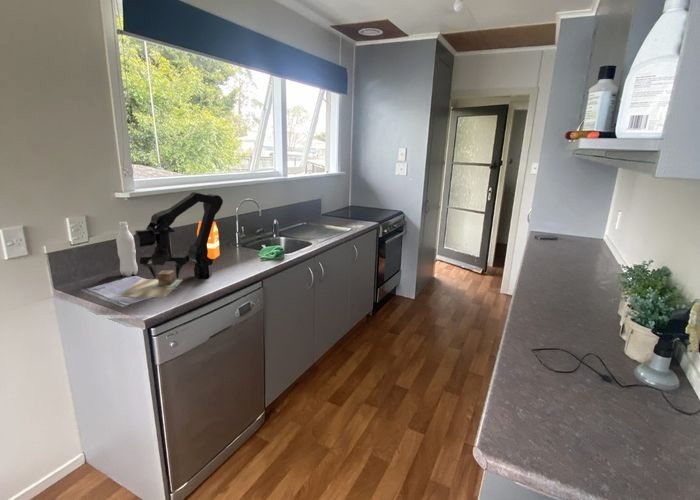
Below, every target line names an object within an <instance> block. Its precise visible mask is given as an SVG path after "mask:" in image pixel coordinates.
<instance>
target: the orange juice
mask: <svg viewBox="0 0 700 500" xmlns="http://www.w3.org/2000/svg"><path fill="white" fill-rule="evenodd" d="M201 223H202V220H199V222H198V227H197V231H196V235H197V236H196V238H197V237H198V233H199V230H200V226H201ZM219 238H220V237H219V229H218V226H217V223H216V221H213V225H212V228H211V232H210V235H209V239H208V242H207V248H208V256H207V257H209V258H210V259H211V260H216V258H218V257H219V256H220V240H219Z"/></svg>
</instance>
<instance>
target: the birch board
mask: <svg viewBox="0 0 700 500" xmlns="http://www.w3.org/2000/svg"><path fill="white" fill-rule="evenodd" d="M182 281H183V279H175V282H174V283H173V284H171V285H159V283H158V278H153V279H147V278H145V279H144V278H143V279H140V280H138V281H137V282H136V283H134V284H133V285H132V286H131V287H129V288H128V289H127V290H125V291H124V292H123V293H121V294H120V295H118V298H166V297H168V295H169V294H170V293H171V292H172V291H173V290H174V289H175V288H176V287H178V285H179V284H180V283H182Z"/></svg>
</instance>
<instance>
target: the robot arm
mask: <svg viewBox="0 0 700 500" xmlns="http://www.w3.org/2000/svg"><path fill="white" fill-rule="evenodd" d="M197 203H203V205H202V206H203V211H204V213H203V216H202V219H201V221H202V223H201V226H200V230H199V233H198V237H197V236H196V241H195V242H194V244H189V248H188V251H187V253H188V254H178V255H177V256H173V255H174V253H173V252H172V245H173V244H172V243H171V235H170V234H171V233H175V232H176V231H175V229H173V228H172V227H171V225H172V224H173V223H174V222H175V220H176V219H177V218H178V217H179V216H181V215H182V214H183V213H185V212H186V211H187V210H189V209H191V208H192V207H194V206H195V205H197ZM223 203H224V200H223V198H222V197H221V196H220V195H218V194H211V193H208V194H203V193H201V192H197V191H193V192H191V193H189V195H187V196H186V197H184V198H183V199H181V200H180V201H178V202H177V203H175V204H174V205H172V206H171V207H170V208H167V209H165V210H164V209H163V210H160V211H158V212H156V213H154V214H153V215H152V216H151V219H150V222H149V223H148V225H147V227H145V229H143V230H135V234H134V236H133V237H134V244H135V248H139V249H140V248H143V247H144V248H145V247H151V246H154V244H155V247H154V252H153V253H152V254H151V253H150V254H149V253H145V254H143V255H142V256H140V257H139V259H138V261H139V264H140V265H143V266H145V267H146V268H148V269H149V271H150V273H151V275H152V276H153V279H157V278H158V273H157V266H163V265H165V263H166V262H175V264H174V266H175V278H176V279H179V278H180V277H179V276H180V274H181V271H182V268H183V266H185V265H186V264H187V263H188V262H190V260H191V261H192V263H193V264H194V268H193V271H194V272H193V275H194V277H197V278H198V279H204V280H205V279H210V278H211V276H212V275H213V273H212V271H211V269H212V268H211V266H212V265H213V260H214V259H210V258H209V257H207V256H208V248H207V242H208V239H209V235H210V232H211V228H212V225H213V222H215V221H214V220H215V217H216V215H217V214H218V213H219V212H220V210H221V208H222V205H223Z"/></svg>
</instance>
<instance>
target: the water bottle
mask: <svg viewBox="0 0 700 500" xmlns="http://www.w3.org/2000/svg"><path fill="white" fill-rule="evenodd" d="M118 225H119V231H118V233H117V236H116V238H115V242H116V246H117V247H116V248H117V255H118V258H119V259H118V260H119V271H120V274H121V275H122V277H132V275H133V276H136V275H137V273H138V272H139V271H138V270H139V268H138V264H137V261H136V260H137V259H136V254H137V253H136V245H135V242H134V236H133V234H132V233H131V231H130V230H129V225H128V222H127V221H119V223H118Z"/></svg>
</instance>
